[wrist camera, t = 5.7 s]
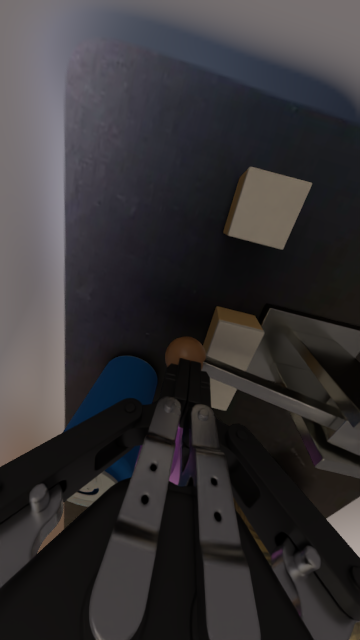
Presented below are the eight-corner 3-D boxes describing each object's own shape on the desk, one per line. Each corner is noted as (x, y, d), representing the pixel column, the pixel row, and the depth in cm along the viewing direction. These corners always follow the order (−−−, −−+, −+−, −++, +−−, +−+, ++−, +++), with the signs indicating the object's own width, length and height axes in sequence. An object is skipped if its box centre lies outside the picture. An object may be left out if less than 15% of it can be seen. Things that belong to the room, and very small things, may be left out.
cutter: (236, 366, 23) (262, 470, 13) (266, 303, 19) (329, 384, 10) (320, 386, 23) (404, 504, 14) (364, 328, 20) (522, 431, 10)
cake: (191, 379, 25) (189, 402, 21) (216, 305, 20) (219, 321, 17) (222, 386, 25) (226, 411, 22) (255, 315, 20) (265, 333, 17)
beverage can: (103, 383, 26) (36, 495, 16) (112, 344, 23) (37, 449, 13) (150, 398, 27) (117, 517, 16) (165, 362, 24) (136, 478, 13)
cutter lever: (170, 354, 18) (154, 376, 15) (178, 324, 17) (162, 342, 14) (351, 429, 15) (372, 473, 12) (379, 401, 14) (411, 443, 11)
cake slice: (222, 232, 17) (227, 235, 14) (239, 177, 15) (249, 166, 12) (268, 244, 17) (282, 250, 14) (290, 190, 15) (312, 183, 12)
